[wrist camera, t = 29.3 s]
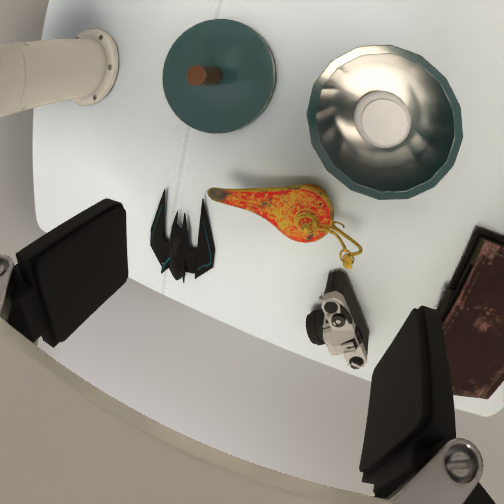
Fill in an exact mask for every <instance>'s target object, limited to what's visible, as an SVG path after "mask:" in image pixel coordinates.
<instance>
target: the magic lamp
mask: <svg viewBox="0 0 504 504" xmlns="http://www.w3.org/2000/svg"><path fill="white" fill-rule="evenodd" d="M207 193H208V196H209V197H210V198H211V199H212V200H214V201H216V202H220V203H223V204H227V205H231V206H235V207H238V208H242V209H245V210H248V211H251V212H253V213H256V214H257V215H259V216H261V217H263V218H264V219H266V220H267V221H269V222H270V223H271V224H273V225H274V226H275V227H276V228H277V229H278V230H279V231H281V232H282V233H283V234H284V235H285V236H287V237H288V238H290V239H292V240H294V241H298V242H304V243H308V242H314V241H317V240H319V239H321V238H323V237H324V236H325V235H326V234H327V233H328V232H329V233H331V234H333V235H335V236H336V238H338V239H339V241H340V243H341V245H342V247H343V249H344V250H341V251H340V254H339V255H340V259H341V261H342V263H343V266H344V267H345V268H346V269H350V268H352V264H353V263H354V256H355V255H359V254H361V253H362V247H361V246H360V245H359V244H358V243H357V242H356V241H354V240H353V239H352V238H351V237H349V236H348V235H346V234H345V233H344V232H342V231H341V230H340V229H339V228H337V227H336V226H335V224H334V223H338V224H341V225H342V226H343V228H344V225H343V224H342V223H339V222H336V221H333V220H334V212H333V208H332V205H331V203H330V201H329V199H328V197H327V195H326V193H325V192H324V191H323V190H322V189H321V188H320V187H318V186H316V185H314V184H302V185H293V186H285V187H270V188H245V189H223V188H210V189H209V190H208V191H207ZM330 229H333V230H334V231H336V232H338V233H339V234H341V235H342V236H344V237H345V238H347V239H348V240H350V241H351V242H352V243H354V244H355V245H356V246H357V247H358V248H359V251H358V252H354V253H351V252H350V251H349V250H347V249H346V247H345V245H344V243H343V241H342V239H341V238H340V236H339V235H338V234H337V233H336V232H334V231H333V230H330ZM343 251H345V253H346V252H348V254H345V255H344V256H343V259H342V257H341V253H342V252H343ZM350 256H352V259H353V260H352V259H351V257H350Z"/></svg>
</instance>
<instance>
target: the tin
mask: <svg viewBox="0 0 504 504" xmlns="http://www.w3.org/2000/svg"><path fill="white" fill-rule="evenodd" d="M375 90H383V91H388V92H391V93H393V94H395V95H397V96H398V97H399V98H401V99H402V100H403V102H404V103H405V104H406V106H407V107H408V109H409V112H410V115H411V128H410V131H409V134H408V135H407V137H406V138H405V139H404V141H402V142H401V143H400V144H398V145H396V146H394V147H390V148H380V147H376V146H373V145H371V144H369V143H368V142H366V141H365V140H364V139H363V138H362V137H361V136H360V135H359V133H358V131H357V129H356V127H355V123H354V111H355V108H356V105H357V103H358V101H359V100H360V98H361V97H362V96H363V95H364V94H366V93H368V92H370V91H375ZM307 120H308V126H309V131H310V137H311V144H312V146H313V148H314V149H315V151H316V153H317V154H318V156H319V158H320V159H321V161H322V163H323V164H324V166H325V168H326V170H327V171H328V172H329V173H331V174H332V175H333V176H334V177H336V178H337V179H338V180H339V181H340V182H342V183H343V184H344V185H345V186H346V187H348V188H349V189H350V190H352V191H355V192H358V193H361V194H364V195H367V196H369V197H372V198H375V199H378V200H390V199H409V198H411V197H414V196H416V195H418V194H420V193H422V192H425V191H427V190H429V189H431V188H433V187H435V186H436V185H437V183H438V182H439V181H440V180H441V179H442V178H443V177H444V176H445V175H446V174H447V173H448V171H449V170H450V169H451V168H452V167H453V165H454V163H455V160H456V157H457V154H458V151H459V148H460V145H461V142H462V139H463V131H462V118H461V107H460V105H459V103H458V101H457V99H456V97H455V95H454V93H453V91H452V89H451V87H450V85H449V83H448V81H447V79H446V78H445V77H444V76H443V75H442V74H441V73H440V72H439V71H438V70H437V69H436V68H435V67H433V66H432V65H431V64H430V63H429V62H428V61H427V60H425V59H424V58H423V57H422V56H420V55H418V54H415V53H412V52H410V51H407V50H404V49H401V48H398V47H395V46H392V45H375V46H361V47H357V48H355V49H353V50H351V51H349V52H347V53H345V54H344V55H342V56H340V57H338V58H336V59H334V60H332V61H331V62H330V64H329V65H328V66H327V68H326V69H325V70H324V71H323V73H322V74H321V75H320V77H319V78H318V79H317V81H316V82H315V83H314V85H313V88H312V93H311V97H310V102H309V106H308V110H307Z"/></svg>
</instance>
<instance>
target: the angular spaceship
mask: <svg viewBox="0 0 504 504" xmlns="http://www.w3.org/2000/svg"><path fill="white" fill-rule="evenodd" d="M164 208H165V189H164V192H163V195H162V198H161V200H160V203H159V206H158V209H157V212H156V215H155V218H154V221H153V224H152V227H151V240H150V246H151V247H152V249H153V251H154V253H155V255H156V257H157V259H158V261H159V263H160V264H161V266H162V270H161V274H162V273H163V272H164V271H165V270H167V269H168V268H169V269H170V271H171V273H172V275H173V277H174V278H175V279H176V280H179V279H181V278H182V277H183V283H184V279H185V272H189V273H193V274H194V273H195V279H196V278H197V277H199V276H200V275H202V274H204V273H205V272H207V271H208V270H210V269H211V268H213V262H214V253H215V248H214V243H213V239H212V235H211V230H210V226H209V222H208V217H207V213H206V208H205V204H204V199H202V207H201V217H200V226H199V236H198V246H197V249H196V248H195V249H194V250H193V251H192V250H191V249H190V248H189V247H188V231H187V223H186V214H185V213H184V219H183V227H182V228H180V227H179V226H178V225H177V221H178V211H177V213H176V216H175V219H174V222H173V225H172V229H171V235H170V240H169V241H168V242H166V241H165V239H164ZM162 263H163V264H162Z"/></svg>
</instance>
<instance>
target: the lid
mask: <svg viewBox="0 0 504 504" xmlns="http://www.w3.org/2000/svg"><path fill="white" fill-rule="evenodd" d="M274 85H275V64H274V59H273V56H272V53H271V51H270V49H269V47H268V45H267V44H266V42H265V41H264V40H263V38H262V37H261V36H260V35H259V34H258V33H257V32H255V31H254V30H253V29H251V28H250V27H248V26H246V25H244V24H242V23H240V22H236V21H233V20H227V19H214V20H208V21H205V22H201V23H199V24H197V25H195V26H193V27H191V28H189V29H188V30H187V31H185V32H184V33H183V34H182V35H181V36H180V37H179V38H178V39H177V40H176V41H175V43H174V44H173V45H172V47H171V49H170V50H169V52H168V55H167V57H166V60H165V63H164V68H163V88H164V92H165V96H166V99H167V101H168V103H169V105H170V107H171V109H172V110H173V111H174V113H175V114H176V115H177V116H178V117H179V118H180V119H181V120H182V121H183V122H184V123H186V124H187V125H189V126H190V127H192V128H194V129H197V130H199V131H203V132H207V133H227V132H231V131H234V130H237V129H240V128H242V127H244V126H246V125H247V124H249V123H250V122H252V121H253V120H254V119H255V118H256V117H257V116H258V115H260V113H261V112H262V111H263V110H264V108H265V107H266V105H267V104H268V102H269V100H270V98H271V95H272V93H273V89H274Z"/></svg>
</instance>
